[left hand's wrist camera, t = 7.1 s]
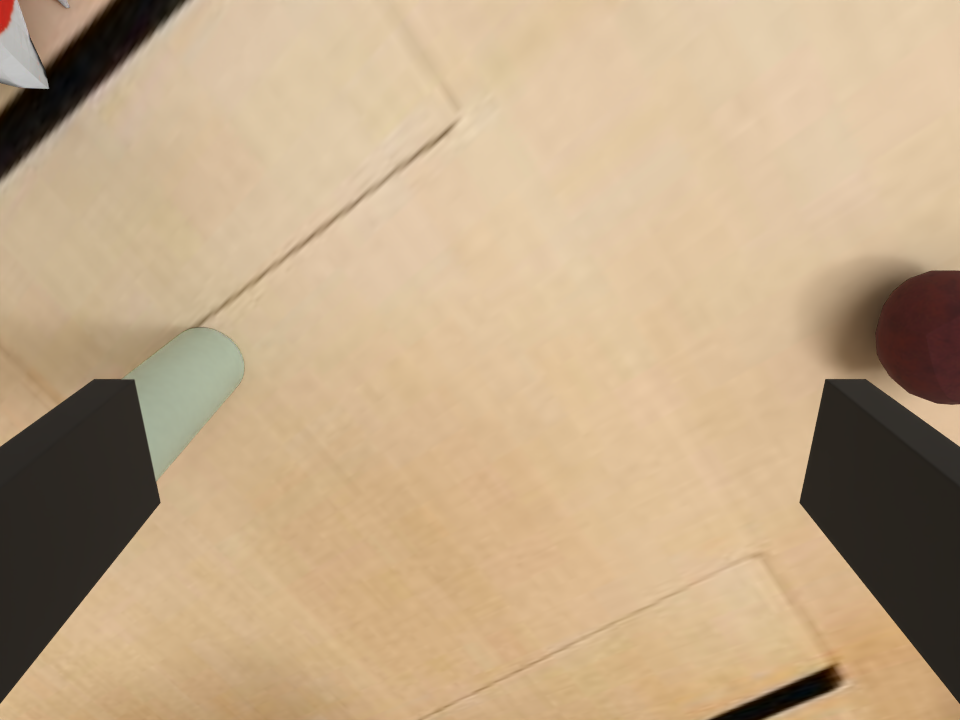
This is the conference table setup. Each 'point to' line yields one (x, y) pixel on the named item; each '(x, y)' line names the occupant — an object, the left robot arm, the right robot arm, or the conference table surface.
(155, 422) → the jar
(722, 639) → the conference table surface
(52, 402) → the conference table surface
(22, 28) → the fish
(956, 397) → the dark red ball
